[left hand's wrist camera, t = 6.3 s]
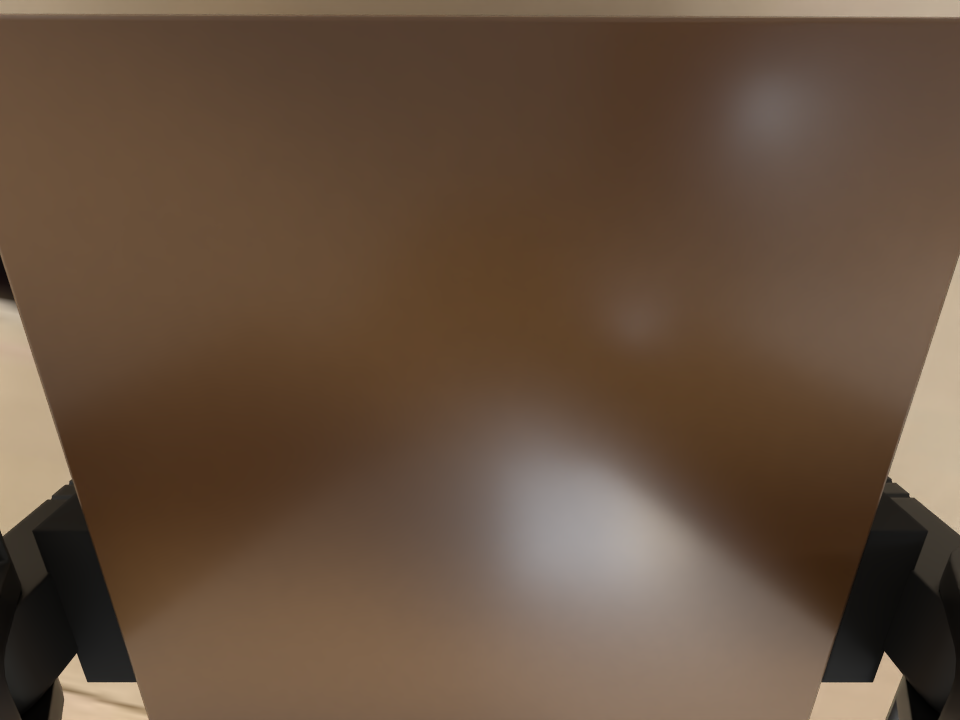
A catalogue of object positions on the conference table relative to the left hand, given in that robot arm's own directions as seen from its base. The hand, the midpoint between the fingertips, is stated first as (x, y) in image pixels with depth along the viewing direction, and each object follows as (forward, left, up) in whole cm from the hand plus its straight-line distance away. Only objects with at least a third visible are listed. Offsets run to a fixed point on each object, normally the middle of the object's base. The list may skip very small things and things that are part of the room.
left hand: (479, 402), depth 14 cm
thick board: (+17, +29, -1) cm, 34 cm away
